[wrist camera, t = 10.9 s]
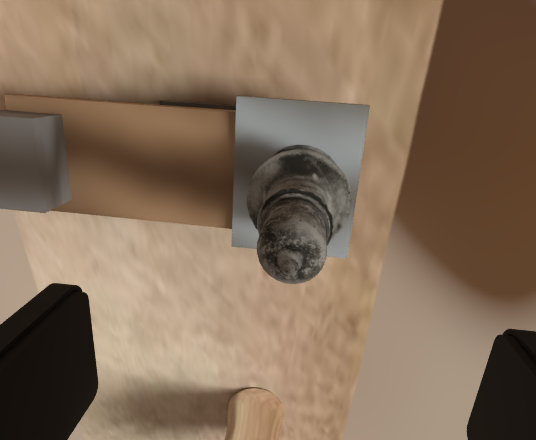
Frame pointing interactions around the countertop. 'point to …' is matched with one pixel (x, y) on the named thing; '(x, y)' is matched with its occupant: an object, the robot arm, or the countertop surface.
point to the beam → (166, 157)
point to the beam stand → (198, 105)
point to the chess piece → (297, 211)
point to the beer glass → (254, 415)
